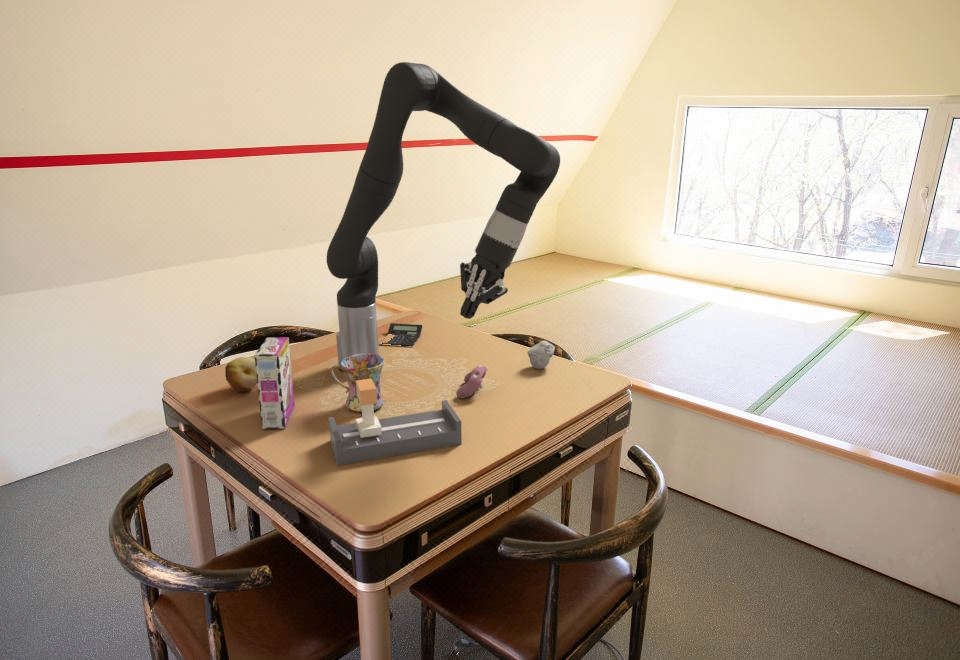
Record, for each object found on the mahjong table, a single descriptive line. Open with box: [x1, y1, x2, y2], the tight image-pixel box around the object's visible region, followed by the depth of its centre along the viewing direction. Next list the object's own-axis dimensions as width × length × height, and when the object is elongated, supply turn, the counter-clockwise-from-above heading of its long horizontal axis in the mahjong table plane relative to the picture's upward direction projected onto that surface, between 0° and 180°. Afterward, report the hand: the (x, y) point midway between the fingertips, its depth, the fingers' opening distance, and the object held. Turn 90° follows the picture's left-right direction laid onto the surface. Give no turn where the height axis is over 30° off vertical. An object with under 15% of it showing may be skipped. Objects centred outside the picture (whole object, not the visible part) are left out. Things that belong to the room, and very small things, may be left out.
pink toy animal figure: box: [456, 364, 488, 399], centre depth 151 cm, size 10×5×7 cm, turn 169°
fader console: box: [328, 399, 463, 466], centre depth 128 cm, size 24×10×5 cm, turn 109°
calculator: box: [382, 322, 423, 347], centre depth 185 cm, size 9×12×3 cm
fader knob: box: [355, 379, 382, 438], centre depth 124 cm, size 4×5×10 cm
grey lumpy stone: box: [527, 340, 556, 370], centre depth 164 cm, size 6×7×7 cm
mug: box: [330, 354, 386, 413], centre depth 143 cm, size 12×9×11 cm
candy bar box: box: [254, 336, 296, 430], centre depth 136 cm, size 11×5×16 cm, turn 5°
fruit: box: [224, 356, 257, 392], centre depth 151 cm, size 8×8×8 cm
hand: (465, 316), depth 132 cm, fingers closed
